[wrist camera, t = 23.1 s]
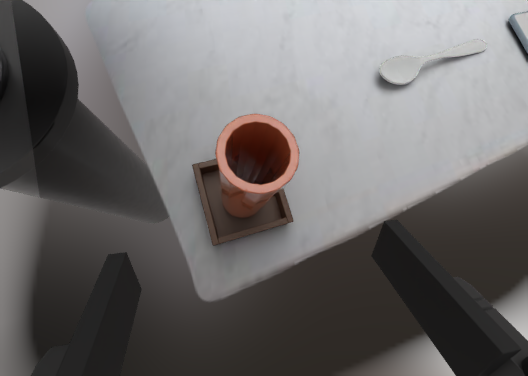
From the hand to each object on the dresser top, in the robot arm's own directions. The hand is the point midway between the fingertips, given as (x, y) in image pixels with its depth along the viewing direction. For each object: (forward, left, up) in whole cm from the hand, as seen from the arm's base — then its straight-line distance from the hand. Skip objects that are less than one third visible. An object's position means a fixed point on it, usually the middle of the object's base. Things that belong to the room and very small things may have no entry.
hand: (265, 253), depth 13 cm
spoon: (+32, +17, -14) cm, 39 cm away
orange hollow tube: (+1, +5, -13) cm, 14 cm away
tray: (+1, +5, -14) cm, 15 cm away
